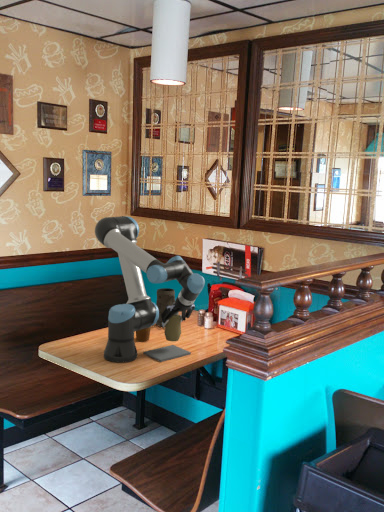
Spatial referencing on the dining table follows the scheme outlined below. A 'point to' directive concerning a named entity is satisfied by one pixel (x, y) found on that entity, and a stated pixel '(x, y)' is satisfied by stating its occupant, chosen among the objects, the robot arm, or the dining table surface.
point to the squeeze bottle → (173, 328)
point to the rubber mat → (166, 353)
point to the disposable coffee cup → (143, 334)
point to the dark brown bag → (164, 301)
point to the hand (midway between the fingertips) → (170, 324)
